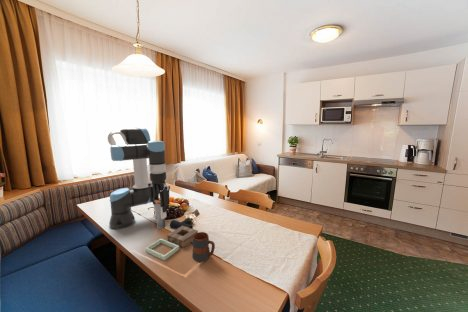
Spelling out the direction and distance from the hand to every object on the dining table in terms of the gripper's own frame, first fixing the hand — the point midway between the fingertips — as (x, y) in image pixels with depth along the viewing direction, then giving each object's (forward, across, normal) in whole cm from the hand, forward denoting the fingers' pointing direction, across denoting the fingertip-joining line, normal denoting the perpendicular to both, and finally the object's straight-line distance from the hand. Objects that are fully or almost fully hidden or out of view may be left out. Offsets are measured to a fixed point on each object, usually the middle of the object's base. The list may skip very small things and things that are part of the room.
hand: (160, 216), depth 99 cm
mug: (+20, +22, +7) cm, 31 cm away
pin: (+6, 0, 0) cm, 6 cm away
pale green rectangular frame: (+20, 0, 0) cm, 20 cm away
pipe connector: (+20, -8, +25) cm, 33 cm away
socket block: (+20, +2, +13) cm, 24 cm away
